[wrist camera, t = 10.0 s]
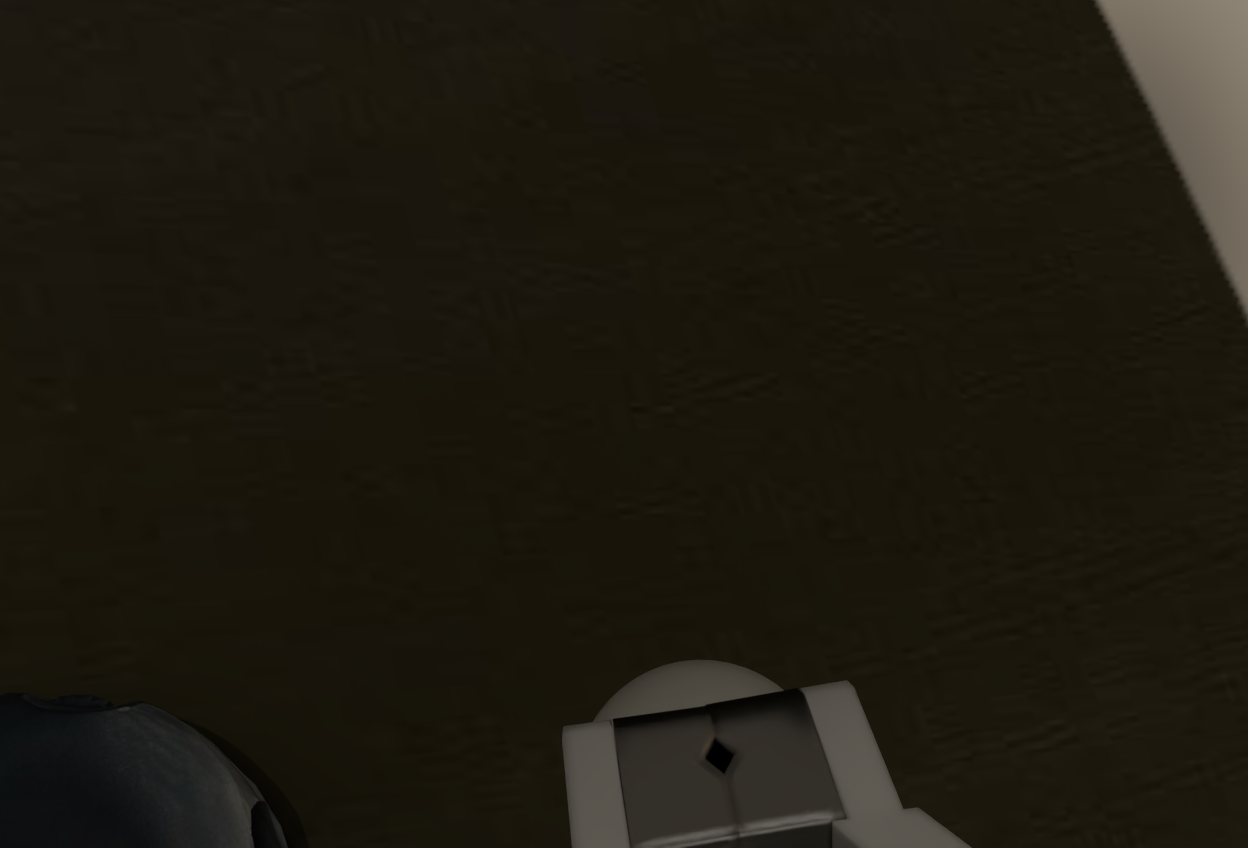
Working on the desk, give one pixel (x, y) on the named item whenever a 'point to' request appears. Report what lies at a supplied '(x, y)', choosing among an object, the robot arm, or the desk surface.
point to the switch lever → (684, 688)
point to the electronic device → (120, 780)
